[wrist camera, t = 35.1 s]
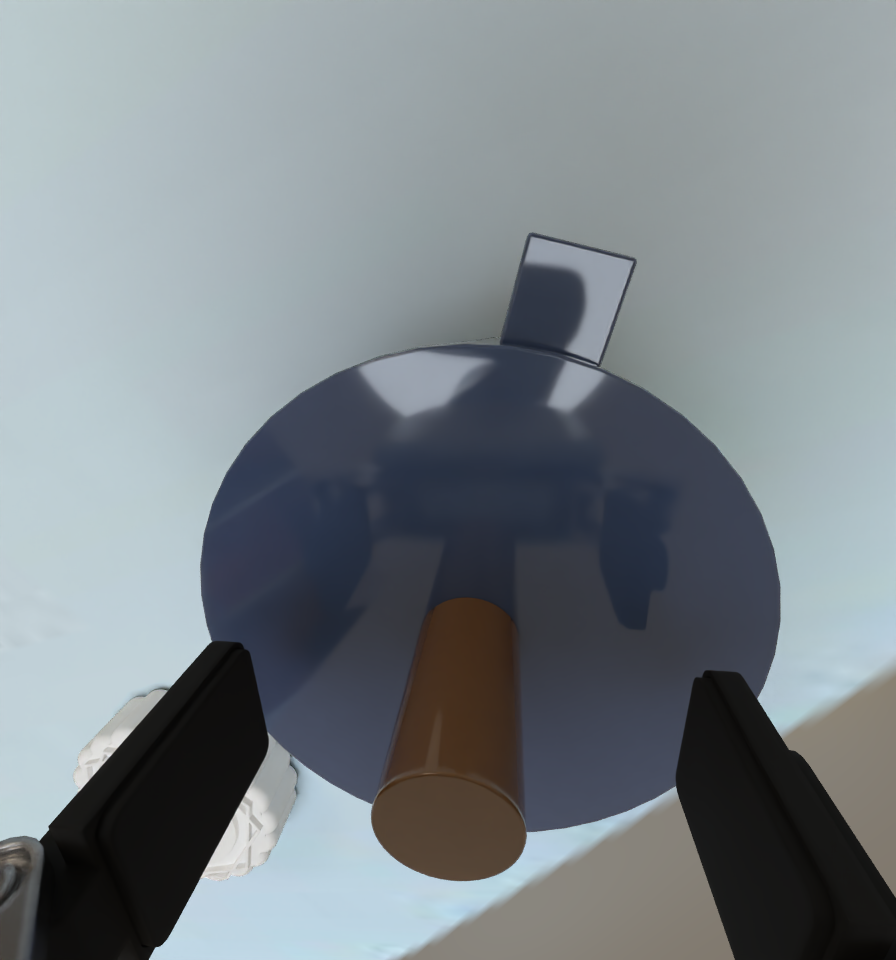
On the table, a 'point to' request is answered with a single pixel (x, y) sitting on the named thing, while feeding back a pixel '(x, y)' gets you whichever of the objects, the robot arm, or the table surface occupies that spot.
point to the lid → (486, 592)
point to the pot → (566, 298)
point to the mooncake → (256, 813)
